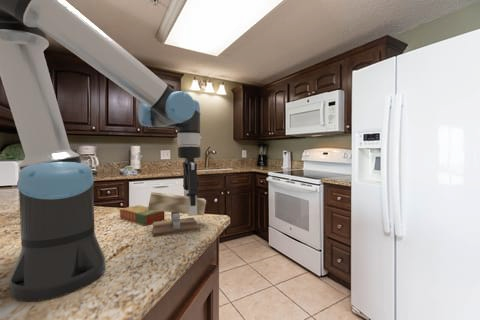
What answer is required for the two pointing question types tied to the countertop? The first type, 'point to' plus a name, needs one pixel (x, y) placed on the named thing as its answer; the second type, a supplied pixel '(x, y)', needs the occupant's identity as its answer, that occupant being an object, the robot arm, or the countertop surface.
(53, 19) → the robot arm
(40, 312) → the countertop surface
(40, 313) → the countertop surface
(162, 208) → the beam
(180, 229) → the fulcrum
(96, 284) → the countertop surface
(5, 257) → the countertop surface
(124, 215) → the carton
